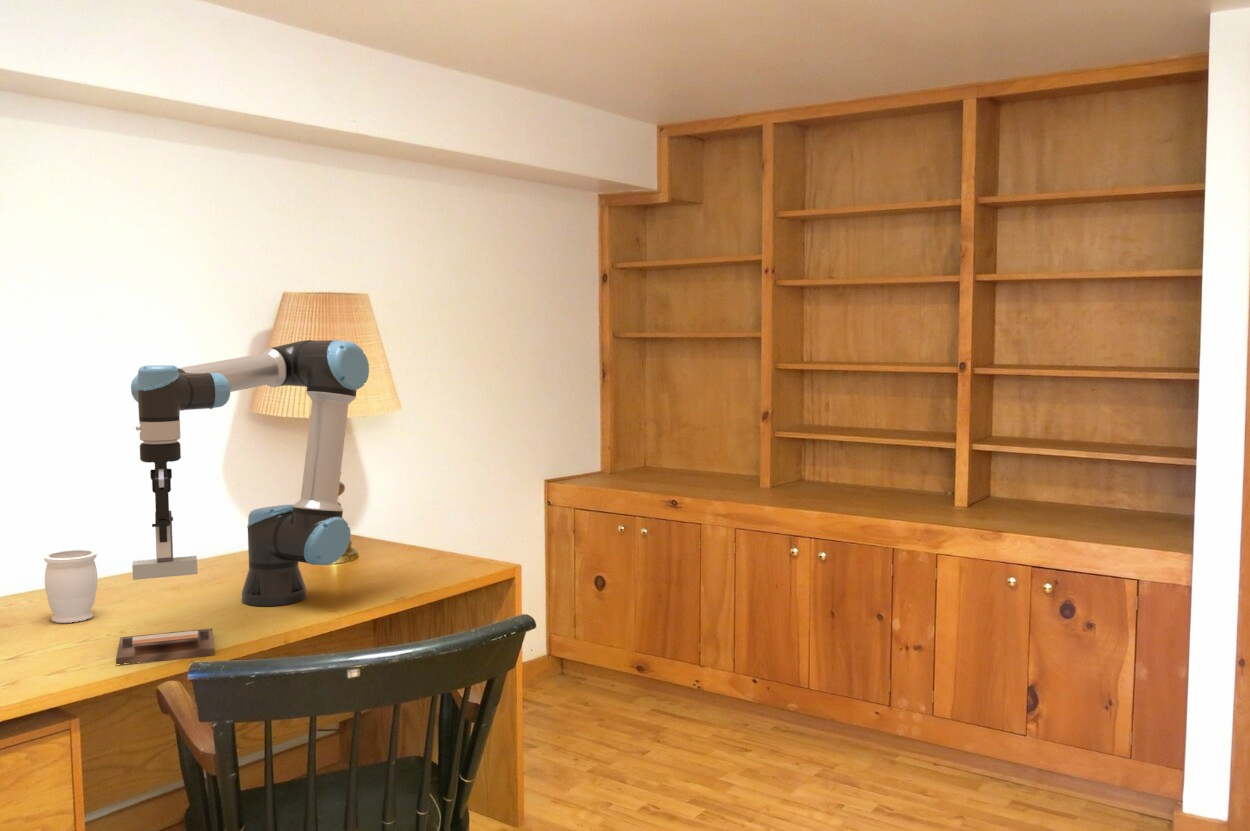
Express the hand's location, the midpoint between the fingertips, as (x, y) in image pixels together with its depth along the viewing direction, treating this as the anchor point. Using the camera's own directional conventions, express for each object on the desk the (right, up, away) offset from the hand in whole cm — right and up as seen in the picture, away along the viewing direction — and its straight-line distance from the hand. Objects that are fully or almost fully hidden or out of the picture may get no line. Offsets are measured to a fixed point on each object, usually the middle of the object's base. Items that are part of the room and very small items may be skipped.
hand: (163, 555), depth 208 cm
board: (-1, -20, +3) cm, 20 cm away
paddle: (0, -4, 0) cm, 4 cm away
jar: (-32, -18, +25) cm, 44 cm away
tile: (+1, -16, 0) cm, 16 cm away
